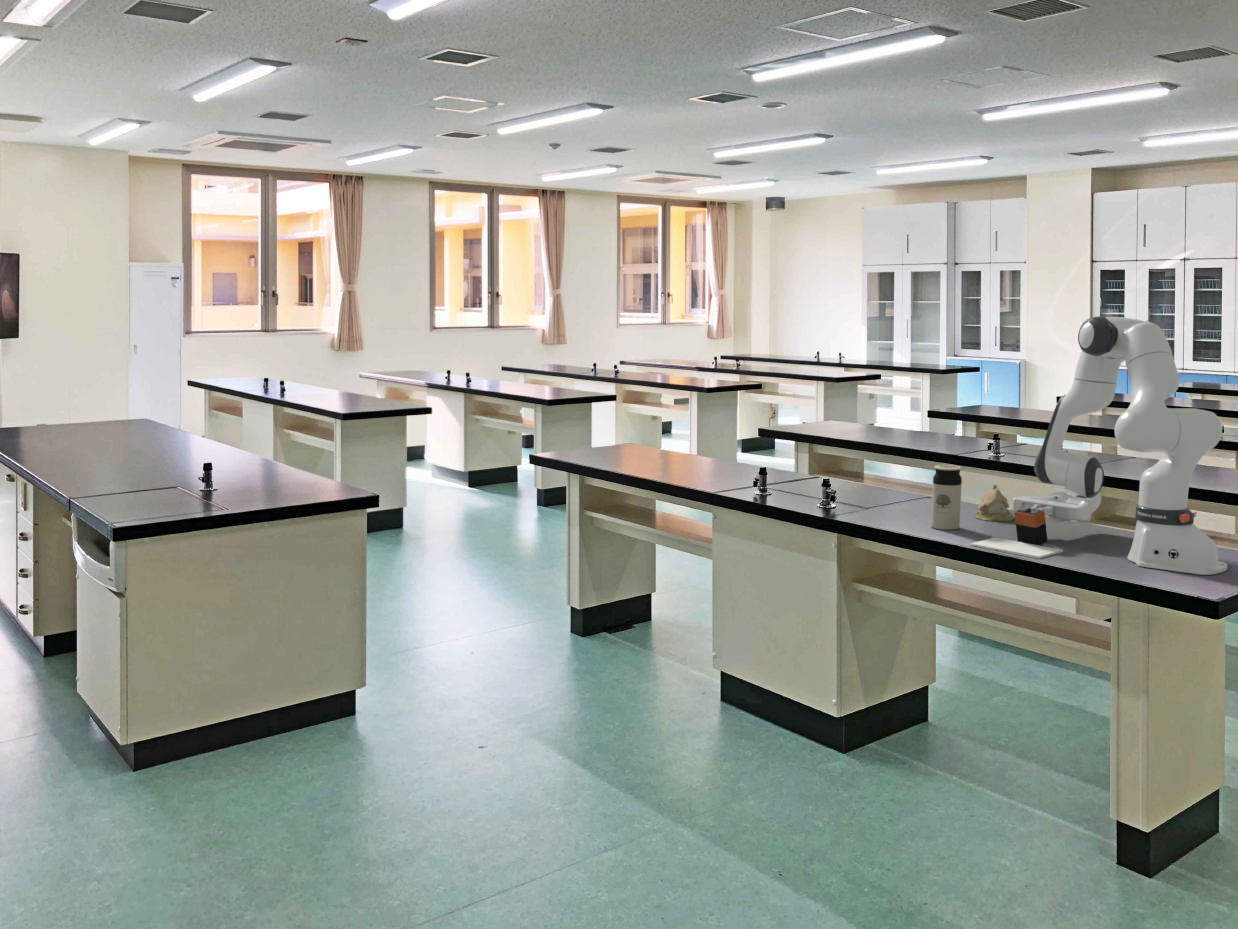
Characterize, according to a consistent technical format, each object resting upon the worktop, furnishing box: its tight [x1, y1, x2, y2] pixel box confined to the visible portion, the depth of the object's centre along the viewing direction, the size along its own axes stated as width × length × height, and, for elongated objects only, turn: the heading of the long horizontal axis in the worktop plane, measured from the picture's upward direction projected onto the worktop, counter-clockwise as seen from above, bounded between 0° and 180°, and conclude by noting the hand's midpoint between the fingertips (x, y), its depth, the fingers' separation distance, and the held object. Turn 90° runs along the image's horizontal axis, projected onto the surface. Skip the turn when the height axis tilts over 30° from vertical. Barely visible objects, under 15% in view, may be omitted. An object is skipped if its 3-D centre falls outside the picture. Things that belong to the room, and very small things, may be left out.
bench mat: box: [969, 536, 1064, 560], centre depth 293 cm, size 20×12×1 cm, turn 40°
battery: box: [1014, 506, 1048, 546], centre depth 297 cm, size 4×7×10 cm, turn 32°
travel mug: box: [930, 464, 963, 531], centre depth 319 cm, size 8×8×18 cm
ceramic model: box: [975, 484, 1015, 522], centre depth 336 cm, size 14×11×10 cm
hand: (1035, 511), depth 298 cm, fingers closed
